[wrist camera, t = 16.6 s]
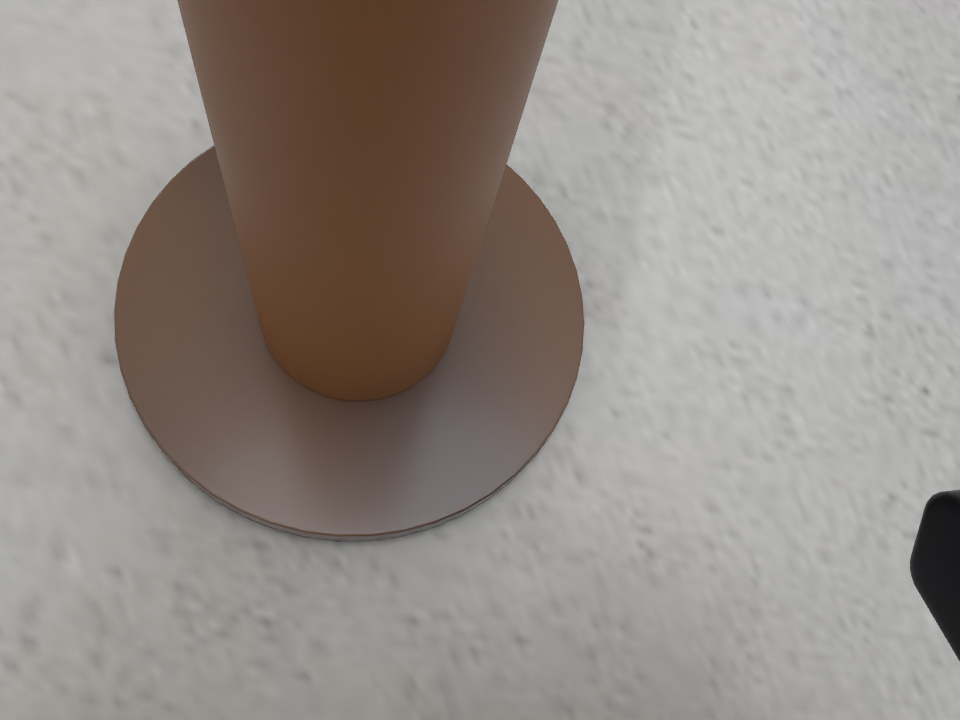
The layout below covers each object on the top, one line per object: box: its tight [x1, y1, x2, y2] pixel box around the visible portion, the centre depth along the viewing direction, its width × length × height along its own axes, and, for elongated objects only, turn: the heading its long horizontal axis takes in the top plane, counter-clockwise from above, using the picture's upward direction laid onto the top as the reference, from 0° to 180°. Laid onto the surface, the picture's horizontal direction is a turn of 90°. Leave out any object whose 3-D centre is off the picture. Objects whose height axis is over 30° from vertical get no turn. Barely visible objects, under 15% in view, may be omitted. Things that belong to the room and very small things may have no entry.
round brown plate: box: [114, 145, 584, 541], centre depth 22 cm, size 12×12×1 cm
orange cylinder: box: [178, 0, 558, 401], centre depth 13 cm, size 5×5×20 cm
